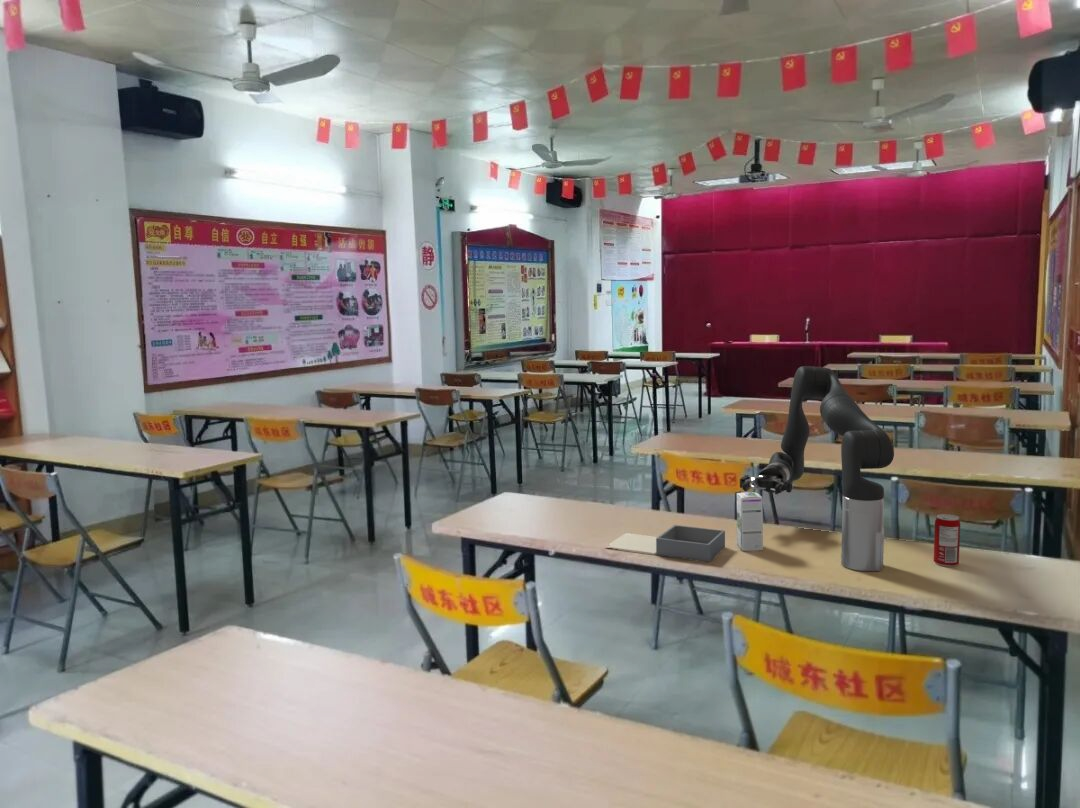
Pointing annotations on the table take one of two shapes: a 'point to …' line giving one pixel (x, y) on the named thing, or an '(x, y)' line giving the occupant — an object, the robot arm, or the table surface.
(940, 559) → the soda can
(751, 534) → the syrup box
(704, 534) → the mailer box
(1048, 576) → the table surface
